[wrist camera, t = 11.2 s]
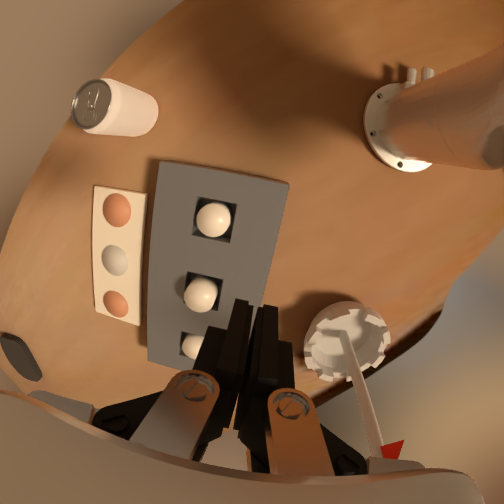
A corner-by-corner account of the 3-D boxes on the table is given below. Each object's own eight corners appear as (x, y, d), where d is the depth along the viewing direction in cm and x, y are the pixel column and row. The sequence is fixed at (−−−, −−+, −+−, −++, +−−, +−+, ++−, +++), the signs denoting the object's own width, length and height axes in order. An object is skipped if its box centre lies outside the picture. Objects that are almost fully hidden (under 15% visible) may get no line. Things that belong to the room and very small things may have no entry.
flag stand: (368, 360, 43) (416, 511, 15) (296, 360, 44) (305, 532, 16) (388, 295, 39) (484, 455, 11) (307, 292, 40) (344, 497, 11)
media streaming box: (47, 379, 56) (41, 385, 53) (20, 369, 57) (16, 374, 54) (24, 337, 51) (18, 343, 48) (0, 330, 52) (-6, 335, 50)
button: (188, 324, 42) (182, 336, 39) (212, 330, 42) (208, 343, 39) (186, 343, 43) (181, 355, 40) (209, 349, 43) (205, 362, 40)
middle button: (191, 271, 37) (185, 281, 34) (220, 278, 37) (215, 289, 34) (189, 297, 39) (182, 308, 36) (216, 303, 39) (211, 315, 36)
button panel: (169, 160, 35) (159, 161, 32) (288, 182, 35) (289, 185, 32) (154, 348, 46) (147, 360, 42) (241, 370, 46) (239, 384, 42)
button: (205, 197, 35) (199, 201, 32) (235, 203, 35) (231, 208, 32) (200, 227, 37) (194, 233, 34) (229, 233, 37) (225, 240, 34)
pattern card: (98, 185, 37) (93, 186, 35) (148, 193, 37) (144, 194, 35) (98, 308, 44) (95, 311, 43) (141, 322, 44) (138, 326, 43)
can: (117, 136, 34) (64, 134, 23) (123, 94, 32) (73, 79, 21) (156, 137, 34) (109, 132, 23) (163, 93, 32) (119, 71, 20)
